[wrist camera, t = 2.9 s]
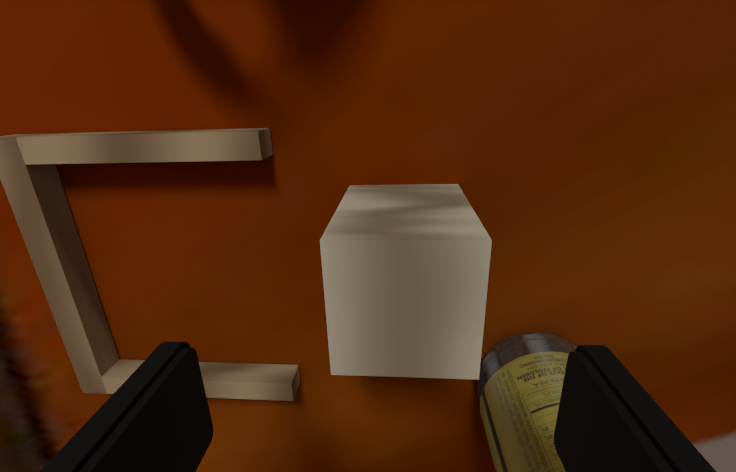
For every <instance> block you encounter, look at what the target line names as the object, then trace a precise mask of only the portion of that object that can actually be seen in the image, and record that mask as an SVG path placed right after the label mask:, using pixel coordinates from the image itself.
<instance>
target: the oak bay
mask: <svg viewBox="0 0 736 472" xmlns="http://www.w3.org/2000/svg"><path fill="white" fill-rule="evenodd" d="M271 155H273V151H272V142H271V134H270V128H244V129H205V130H167V131H128V132H90V133H51V134H16V135H7V136H0V179H1V182H2V184H3V187H4V189H5V192H6V195H7V197H8V200H9V202H10V205H11V208H12V210H13V213H14V215H15V218H16V221H17V223H18V226H19V228H20V231H21V234H22V236H23V239H24V241H25V244H26V247H27V249H28V252H29V254H30V257H31V259H32V262H33V265H34V267H35V270H36V272H37V275H38V278H39V280H40V283H41V285H42V288H43V291H44V293H45V296H46V298H47V301H48V304H49V306H50V309H51V311H52V314H53V316H54V319H55V322H56V324H57V327H58V329H59V332H60V335H61V337H62V340H63V342H64V345H65V348H66V350H67V353H68V355H69V358H70V361H71V363H72V366H73V368H74V371H75V374H76V376H77V379H78V381H79V384H80V386H81V389H82V392H83V393H105V394H114V393H115V392H116V391H117V390H118V388H119V387H120V386H121V385H122V384H123V383H124V382H125V381H126V380H127V379H128V378H129V377H130V376H131V375H132V374H133V372H134V371H135V370H136V369H137V368H138V367H139V366H140V365H141V364H142V363H143V362H144V361H145V360H124V359H119V356H118V353H117V350H116V347H115V344H114V341H113V338H112V335H111V332H110V329H109V326H108V323H107V320H106V317H105V314H104V311H103V307H102V304H101V301H100V298H99V295H98V292H97V289H96V286H95V283H94V280H93V277H92V274H91V271H90V268H89V265H88V262H87V259H86V256H85V253H84V250H83V247H82V243H81V240H80V237H79V234H78V231H77V228H76V225H75V222H74V219H73V216H72V213H71V210H70V207H69V204H68V201H67V198H66V195H65V192H64V189H63V186H62V183H61V180H60V176H59V173H58V170H57V167H56V164H86V163H141V162H196V161H251V160H263V159H265V158H267V157H269V156H271ZM199 366H200V370H201V375H202V379H203V384H204V388H205V393H206V397H207V398H231V399H256V400H281V401H294V398H295V395H296V393H297V390H298V387H299V384H300V374H299V366H298V365H285V364H253V363H220V362H199Z"/></svg>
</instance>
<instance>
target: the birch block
mask: <svg viewBox="0 0 736 472" xmlns="http://www.w3.org/2000/svg"><path fill="white" fill-rule="evenodd" d="M491 244H492V240H491V238H490V237H489V235H488V233H487V232H486V230H485V228H484V227H483V225H482V223H481V222H480V220H479V218H478V217H477V215H476V213H475V212H474V210H473V208H472V207H471V205H470V203H469V202H468V200H467V198H466V197H465V195H464V193H463V192H462V190H461V188H460V187H459V185H458V184H423V185H350V186H349V188H348V189H347V191H346V193H345V195H344V197H343V199H342V200H341V202H340V204H339V206H338V208H337V210H336V212H335V213H334V215H333V217H332V219H331V221H330V223H329V224H328V226H327V228H326V230H325V232H324V234H323V235H322V237H321V239H320V248H321V260H322V272H323V284H324V296H325V308H326V320H327V332H328V344H329V356H330V368H331V375H355V376H385V377H416V378H446V379H476V380H479V374H480V363H481V352H482V342H483V331H484V320H485V309H486V298H487V287H488V277H489V266H490V255H491Z"/></svg>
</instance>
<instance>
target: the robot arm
mask: <svg viewBox="0 0 736 472" xmlns="http://www.w3.org/2000/svg"><path fill="white" fill-rule="evenodd" d="M212 436H213V424H212V420H211V415H210V411H209V406H208V402H207V397H206V393H205V388H204V384H203V379H202V375H201V370H200V366H199V361H198V357H197V353H196V350H195V349H194V348H191V347H190V345H189V344H188V343H187V342H163V343H161V344H160V345H159V346H158V347H157V348H156V349H155V350H154V351H153V352H152V353H151V354H150V355H149V357H148V358H147V359H146V360H145V361H144V362H143V363H142V364H141V365H140V366H139V367H138V368H137V369H136V370H135V371H134V372H133V374H132V375H131V376H130V377H129V378H128V379H127V380H126V381H125V382H124V383H123V384H122V385H121V386H120V387H119V388H118V390H117V391H116V392H115V393H114V394H113V395H112V396H111V397H110V398H109V399H108V400H107V401H106V402H105V403H104V404H103V405H102V407H101V408H100V409H99V410H98V411H97V412H96V413H95V414H94V415H93V416H92V417H91V418H90V419H89V420H88V421H87V423H86V424H85V425H84V426H83V427H82V428H81V429H80V430H79V431H78V432H77V433H76V434H75V435H74V436H73V437H72V439H71V440H70V441H69V442H68V443H67V444H66V445H65V446H64V447H63V448H62V449H61V450H60V451H59V452H58V453H57V454H56V456H55V457H54V458H53V459H52V460H51V461H50V462H49V463H48V464H47V465H46V466H45V467H44V468H43V469H42V470H41V472H195V471H196V470H197V468H198V466H199V464H200V462H201V460H202V458H203V456H204V454H205V452H206V450H207V448H208V447H209V445H210V442H211V440H212ZM554 444H555V448H556V451H557V454H558V456H559V458H560V460H561V462H562V464H563V466H564V469H565V471H566V472H716V471H715V470H714V469H713V468H712V466H711V465H710V464H709V463H708V462H707V461H706V460H705V459H704V457H703V456H702V455H701V454H700V453H699V452H698V450H697V449H696V448H695V447H694V446H693V445H692V444H691V442H690V441H689V440H688V439H687V438H686V437H685V435H684V434H683V433H682V432H681V431H680V430H679V429H678V427H677V426H676V425H675V424H674V423H673V422H672V421H671V419H670V418H669V417H668V416H667V415H666V414H665V413H664V411H663V410H662V409H661V408H660V407H659V406H658V405H657V403H656V402H655V401H654V400H653V399H652V398H651V397H650V395H649V394H648V393H647V392H646V391H645V390H644V389H643V387H642V386H641V385H640V384H639V383H638V382H637V381H636V379H635V378H634V377H633V376H632V375H631V374H630V373H629V371H628V370H627V369H626V368H625V367H624V366H623V365H622V363H621V362H620V361H619V360H618V359H617V358H616V357H615V355H614V354H613V353H612V352H611V351H610V350H609V349H608V348H607V347H606V346H601V345H580V346H577V348H576V349H575V351H572V352H570V353H569V355H568V359H567V365H566V370H565V376H564V381H563V387H562V392H561V398H560V403H559V409H558V415H557V420H556V426H555V431H554Z"/></svg>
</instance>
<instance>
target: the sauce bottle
mask: <svg viewBox="0 0 736 472" xmlns="http://www.w3.org/2000/svg"><path fill="white" fill-rule="evenodd" d="M576 348H577V347H576V346H575V345H573V344H572V343H570V342H569V341H566V340H565V339H563V338H562V337H560V336H557V335H555V334H550V333H528V334H522V335H517V336H512V337H508V338H506V339H504V340H502V341H500V342H499V343H497V344H496V345H495V346H494V347H493V348H492V349H491V350H490V351H489V352H488V353H487V354H486V355H485V357H484V359H483V360H482V362H481V364H480V374H479V380H476V382H477V390H478V395H479V398H480V413H481V418H482V421H483V425H484V428H485V432H486V436H487V440H488V443H489V447H490V451H491V455H492V459H493V462H494V466H495V470H496V472H566V471H565V469H564V466H563V464H562V462H561V460H560V458H559V456H558V454H557V451H556V448H555V444H554V431H555V426H556V420H557V415H558V409H559V403H560V398H561V392H562V387H563V381H564V376H565V370H566V365H567V359H568V355H569V353H570V352H572V351H575V349H576Z"/></svg>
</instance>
